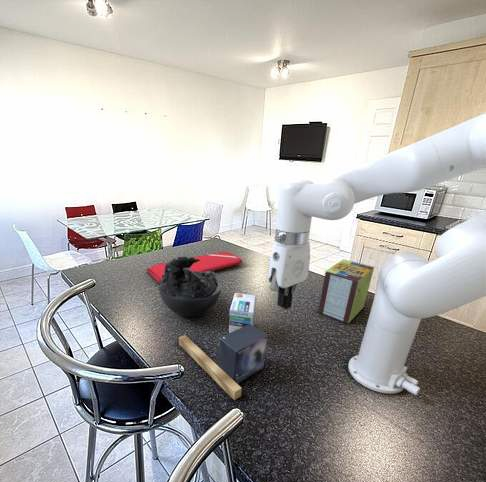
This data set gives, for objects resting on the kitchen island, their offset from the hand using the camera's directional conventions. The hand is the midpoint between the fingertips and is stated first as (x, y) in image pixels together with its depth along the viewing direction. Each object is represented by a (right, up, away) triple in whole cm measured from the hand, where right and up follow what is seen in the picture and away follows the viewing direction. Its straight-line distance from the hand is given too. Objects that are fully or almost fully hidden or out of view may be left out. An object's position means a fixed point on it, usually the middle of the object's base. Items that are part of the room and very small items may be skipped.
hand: (283, 306), depth 74 cm
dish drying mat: (-25, +11, +58) cm, 64 cm away
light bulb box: (-10, -10, +13) cm, 19 cm away
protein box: (+27, -4, +27) cm, 38 cm away
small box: (-11, -16, -1) cm, 20 cm away
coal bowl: (-26, -5, +24) cm, 35 cm away
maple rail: (-20, -15, -1) cm, 25 cm away
